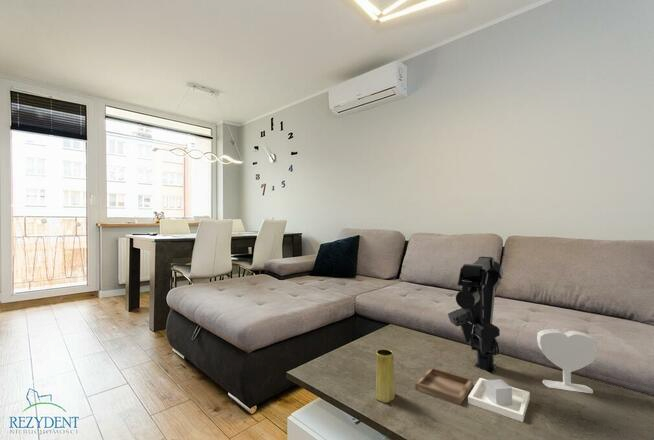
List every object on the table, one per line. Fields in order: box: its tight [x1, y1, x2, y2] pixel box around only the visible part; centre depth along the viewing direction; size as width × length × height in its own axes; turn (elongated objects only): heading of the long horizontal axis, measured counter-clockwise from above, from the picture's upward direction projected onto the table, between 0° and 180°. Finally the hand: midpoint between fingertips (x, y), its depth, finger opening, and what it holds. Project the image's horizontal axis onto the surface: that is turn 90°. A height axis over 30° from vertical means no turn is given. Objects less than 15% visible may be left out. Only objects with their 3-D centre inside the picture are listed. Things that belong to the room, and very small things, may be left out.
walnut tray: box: [414, 366, 474, 406], centre depth 101 cm, size 14×14×2 cm
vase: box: [375, 348, 396, 404], centre depth 97 cm, size 6×6×14 cm
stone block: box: [486, 379, 512, 406], centre depth 93 cm, size 5×5×5 cm
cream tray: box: [467, 377, 531, 423], centre depth 93 cm, size 14×14×2 cm
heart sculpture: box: [536, 328, 599, 394], centre depth 101 cm, size 16×5×18 cm, turn 69°
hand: (474, 347), depth 104 cm, fingers open, 9 cm apart
